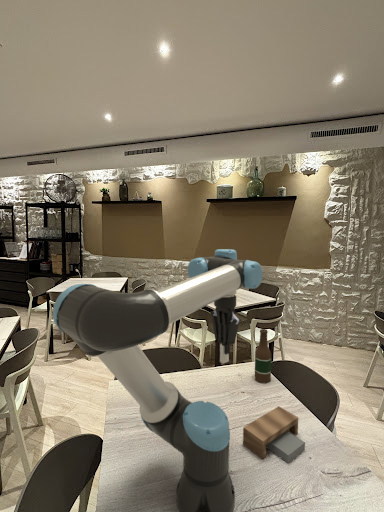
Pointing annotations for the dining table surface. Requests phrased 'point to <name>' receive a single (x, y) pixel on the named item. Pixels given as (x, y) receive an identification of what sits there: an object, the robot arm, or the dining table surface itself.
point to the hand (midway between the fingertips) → (224, 361)
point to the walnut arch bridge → (268, 429)
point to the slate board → (286, 446)
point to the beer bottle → (263, 359)
